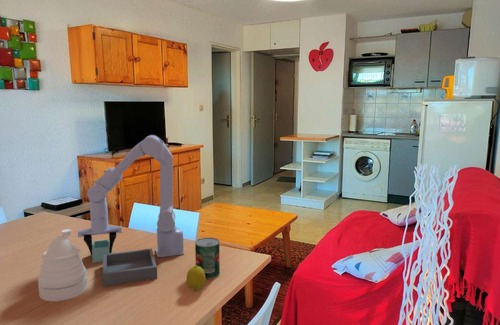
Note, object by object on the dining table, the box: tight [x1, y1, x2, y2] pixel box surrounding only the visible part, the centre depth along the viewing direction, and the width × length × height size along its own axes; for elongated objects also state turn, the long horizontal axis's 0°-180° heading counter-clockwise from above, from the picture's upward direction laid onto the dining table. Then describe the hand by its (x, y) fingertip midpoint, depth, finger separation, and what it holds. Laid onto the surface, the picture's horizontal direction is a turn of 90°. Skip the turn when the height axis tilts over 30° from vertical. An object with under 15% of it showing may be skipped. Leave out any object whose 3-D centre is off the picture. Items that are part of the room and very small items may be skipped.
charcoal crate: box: [102, 248, 158, 288], centre depth 122 cm, size 16×16×4 cm
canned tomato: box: [194, 237, 221, 280], centre depth 120 cm, size 8×8×11 cm
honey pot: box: [37, 228, 88, 302], centre depth 109 cm, size 13×13×18 cm
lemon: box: [186, 264, 206, 292], centre depth 109 cm, size 6×6×8 cm
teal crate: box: [92, 238, 111, 264], centre depth 134 cm, size 6×8×5 cm
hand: (101, 253), depth 134 cm, fingers closed on teal crate, 6 cm apart
